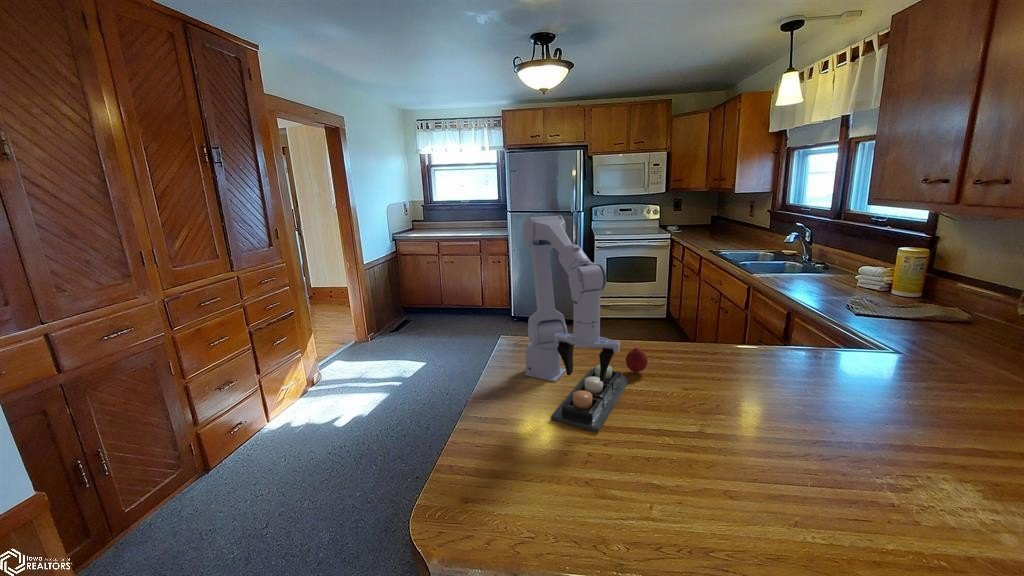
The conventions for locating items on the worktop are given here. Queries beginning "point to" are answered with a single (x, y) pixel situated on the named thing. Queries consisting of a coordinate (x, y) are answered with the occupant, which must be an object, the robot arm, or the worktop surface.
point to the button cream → (593, 385)
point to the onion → (636, 360)
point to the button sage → (608, 373)
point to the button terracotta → (582, 400)
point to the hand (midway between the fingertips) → (585, 376)
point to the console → (600, 404)
